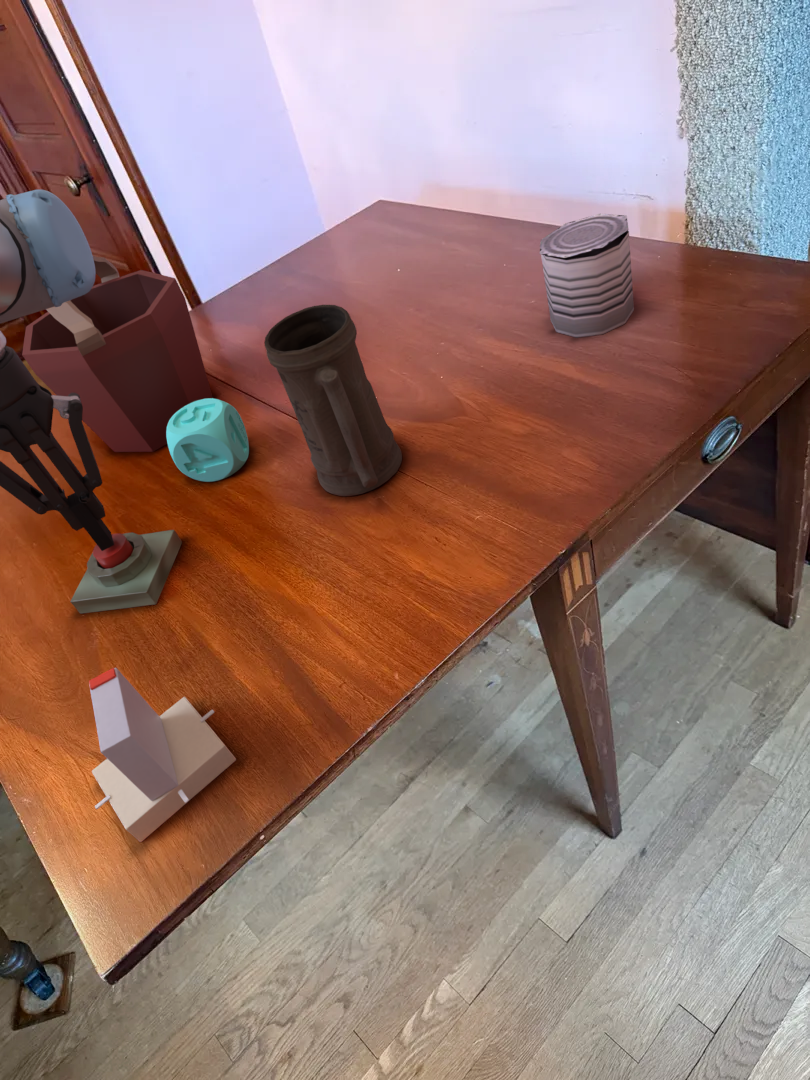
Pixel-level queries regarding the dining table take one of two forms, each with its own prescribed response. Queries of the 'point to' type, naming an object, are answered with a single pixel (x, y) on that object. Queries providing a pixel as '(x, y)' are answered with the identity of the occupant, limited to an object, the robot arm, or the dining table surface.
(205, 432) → the decorative dice
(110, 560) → the button
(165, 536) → the button block
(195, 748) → the tap base
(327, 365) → the beer stein
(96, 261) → the bucket
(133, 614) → the dining table surface
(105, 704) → the grey lever handle
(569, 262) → the can
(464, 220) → the dining table surface
